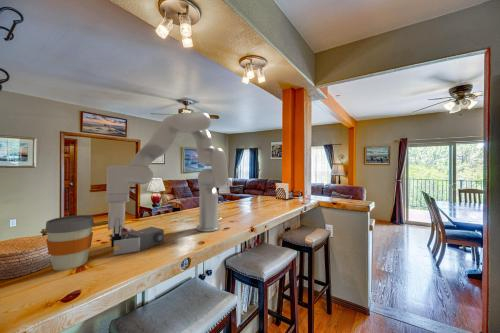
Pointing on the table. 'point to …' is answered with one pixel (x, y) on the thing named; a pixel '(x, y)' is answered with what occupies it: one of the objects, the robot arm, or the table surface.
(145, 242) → the camera body
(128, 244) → the side door
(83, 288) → the table surface
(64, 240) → the reusable coffee cup
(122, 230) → the walkie-talkie
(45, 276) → the table surface
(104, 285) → the table surface
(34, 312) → the table surface
